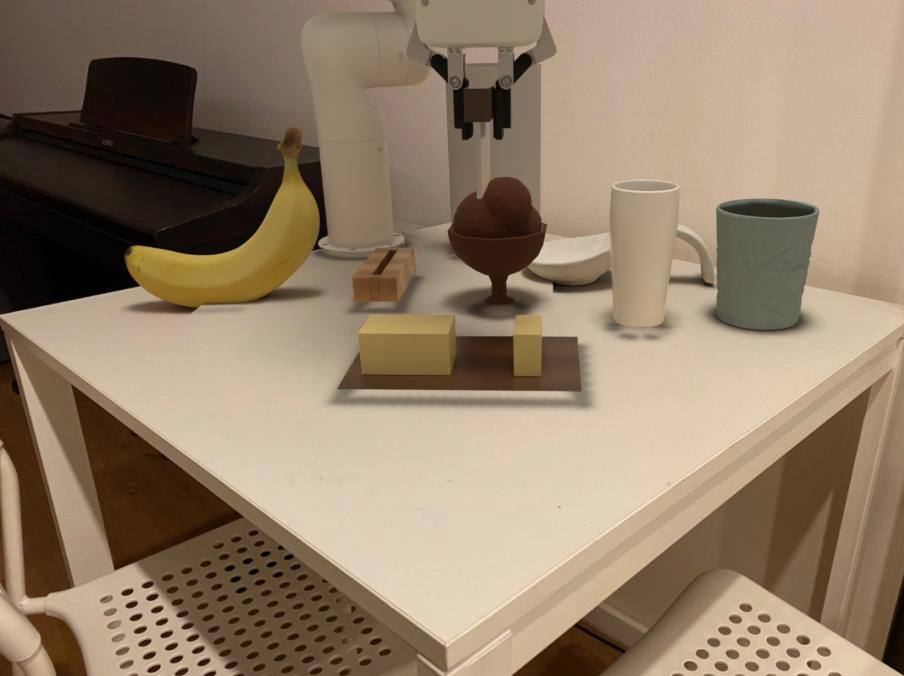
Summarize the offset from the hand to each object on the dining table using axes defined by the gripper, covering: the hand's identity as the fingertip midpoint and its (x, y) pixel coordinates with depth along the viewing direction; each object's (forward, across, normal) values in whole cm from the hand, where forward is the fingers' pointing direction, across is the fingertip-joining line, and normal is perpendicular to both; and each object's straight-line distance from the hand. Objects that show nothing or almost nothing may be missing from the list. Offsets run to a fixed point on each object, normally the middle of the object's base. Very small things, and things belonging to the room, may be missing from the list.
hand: (483, 136), depth 68 cm
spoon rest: (+21, -14, -28) cm, 38 cm away
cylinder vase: (+22, +2, -41) cm, 46 cm away
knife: (+4, 0, 0) cm, 4 cm away
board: (+21, +2, +2) cm, 21 cm away
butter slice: (+20, -4, +3) cm, 20 cm away
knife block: (+21, +14, -22) cm, 33 cm away
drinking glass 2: (+21, -15, -10) cm, 28 cm away
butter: (+20, +7, +3) cm, 21 cm away
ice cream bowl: (+21, 0, -16) cm, 26 cm away
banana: (+22, +32, -17) cm, 42 cm away
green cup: (+21, -28, -14) cm, 38 cm away
